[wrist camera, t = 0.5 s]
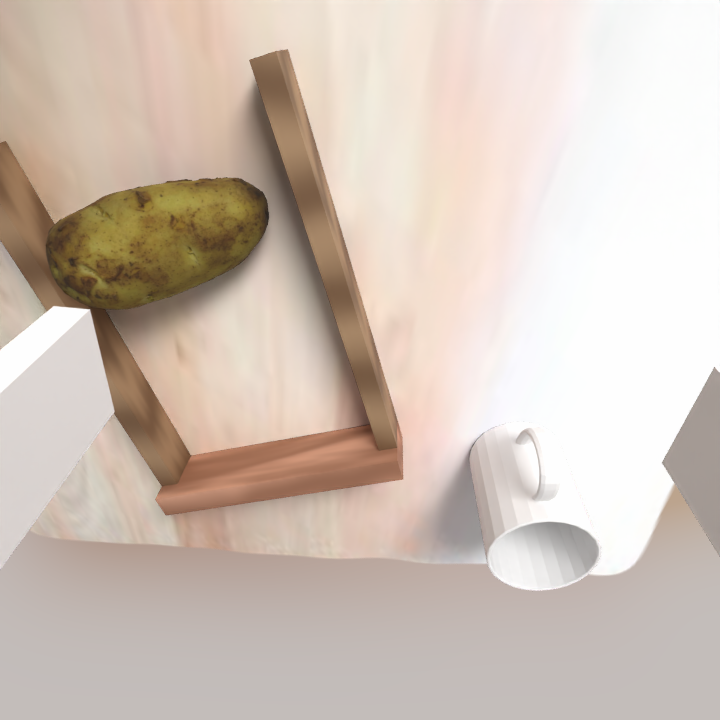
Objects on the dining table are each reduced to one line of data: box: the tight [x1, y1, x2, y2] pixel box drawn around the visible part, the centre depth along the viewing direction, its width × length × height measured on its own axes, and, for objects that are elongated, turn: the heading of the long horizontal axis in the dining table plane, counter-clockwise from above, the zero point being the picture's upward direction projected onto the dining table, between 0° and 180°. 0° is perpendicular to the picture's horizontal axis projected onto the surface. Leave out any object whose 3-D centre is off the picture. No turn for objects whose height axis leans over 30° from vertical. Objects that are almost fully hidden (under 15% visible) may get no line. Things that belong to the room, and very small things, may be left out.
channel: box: [0, 50, 403, 515], centre depth 37 cm, size 30×21×5 cm
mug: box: [469, 422, 601, 591], centre depth 40 cm, size 12×8×10 cm, turn 5°
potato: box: [45, 177, 269, 310], centre depth 32 cm, size 8×13×8 cm, turn 87°
